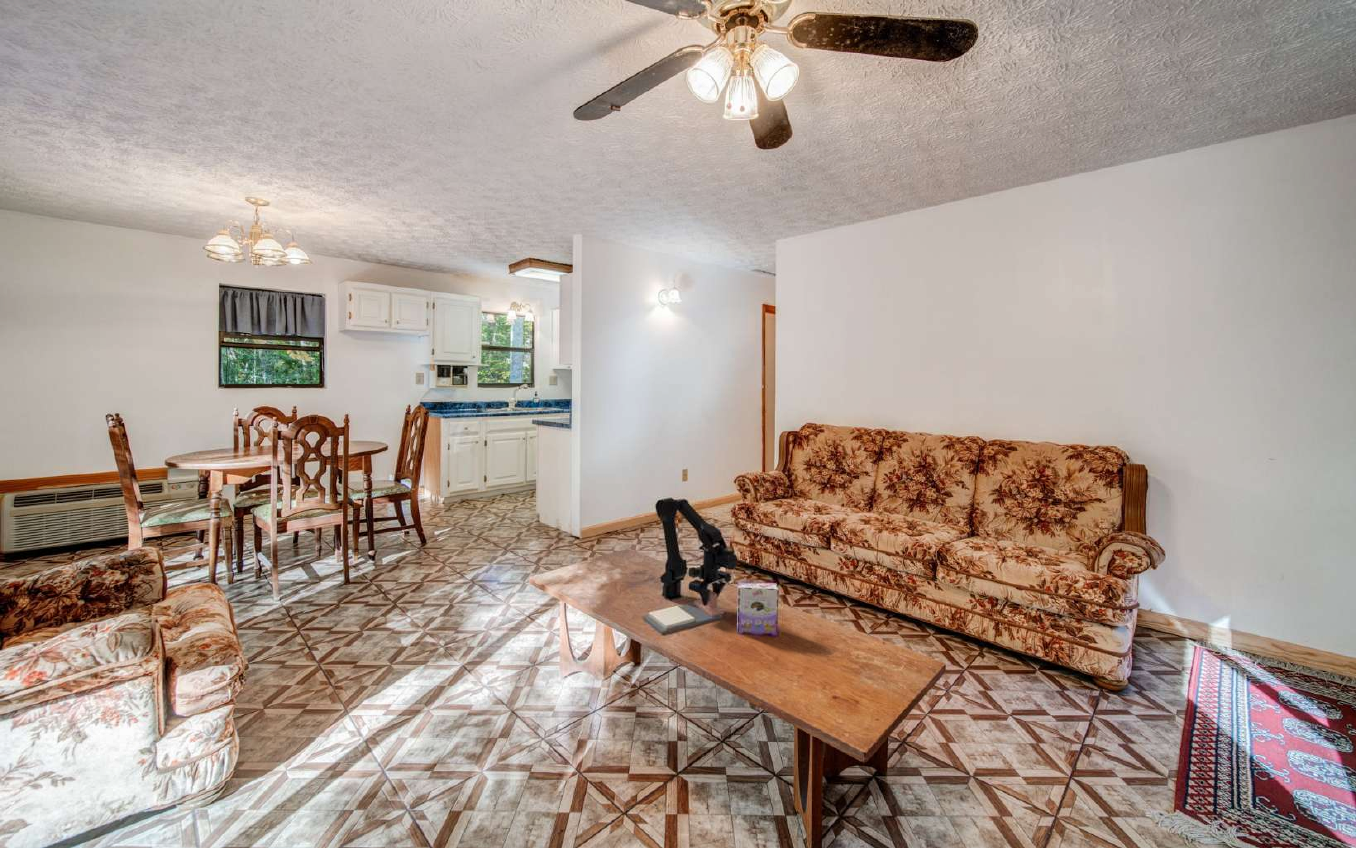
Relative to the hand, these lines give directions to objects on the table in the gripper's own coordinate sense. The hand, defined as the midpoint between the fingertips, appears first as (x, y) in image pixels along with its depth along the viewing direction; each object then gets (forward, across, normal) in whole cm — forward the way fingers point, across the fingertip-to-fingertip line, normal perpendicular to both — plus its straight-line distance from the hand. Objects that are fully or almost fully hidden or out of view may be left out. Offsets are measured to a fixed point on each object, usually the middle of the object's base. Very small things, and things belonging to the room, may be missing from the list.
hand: (709, 603), depth 197 cm
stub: (+2, 0, 0) cm, 2 cm away
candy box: (+3, 0, +22) cm, 22 cm away
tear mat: (+3, +12, -3) cm, 12 cm away
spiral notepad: (+2, +16, -4) cm, 17 cm away
